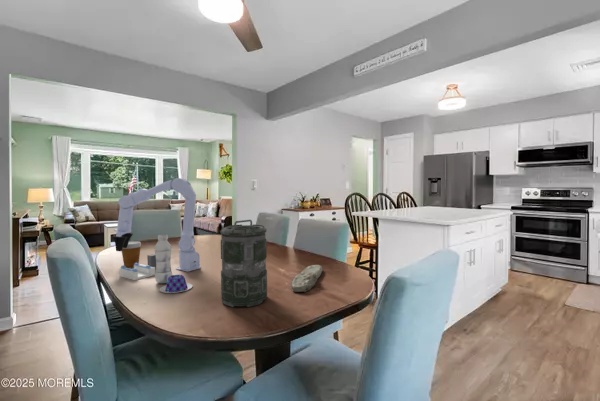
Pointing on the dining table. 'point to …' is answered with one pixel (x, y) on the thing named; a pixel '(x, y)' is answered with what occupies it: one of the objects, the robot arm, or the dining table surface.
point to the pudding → (176, 284)
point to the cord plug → (152, 260)
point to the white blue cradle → (137, 271)
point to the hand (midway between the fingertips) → (121, 249)
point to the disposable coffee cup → (131, 254)
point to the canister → (243, 265)
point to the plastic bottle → (163, 259)
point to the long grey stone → (306, 278)
